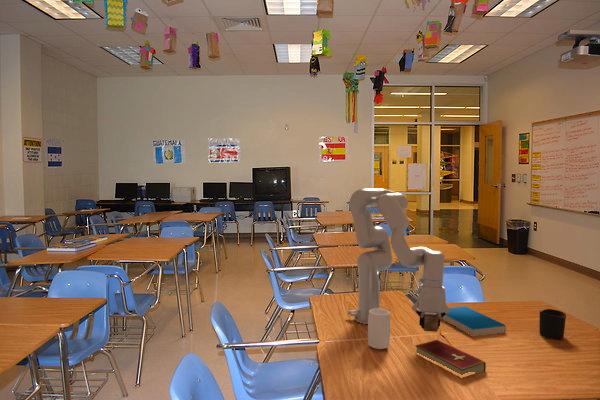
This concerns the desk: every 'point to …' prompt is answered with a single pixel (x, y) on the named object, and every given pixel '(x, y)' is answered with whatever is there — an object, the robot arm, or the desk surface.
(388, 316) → the cup
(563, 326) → the pen holder
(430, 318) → the walnut block
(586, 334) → the desk surface
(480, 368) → the hardcover book
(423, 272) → the robot arm
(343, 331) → the desk surface
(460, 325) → the book
